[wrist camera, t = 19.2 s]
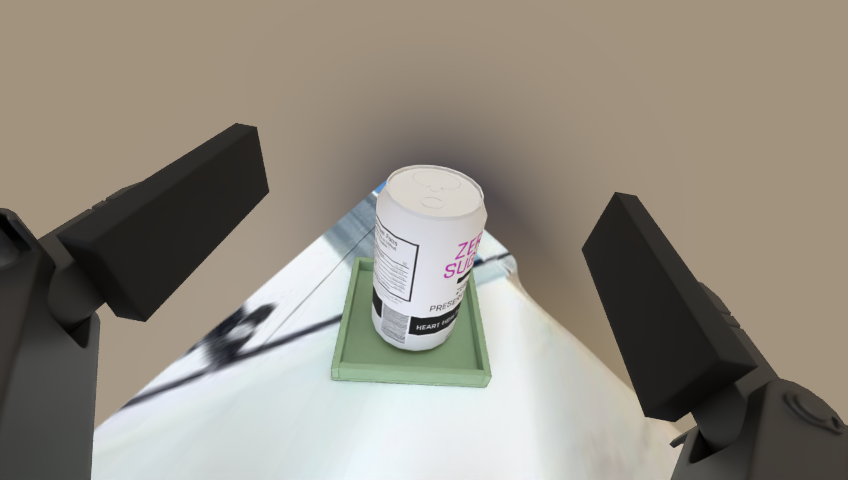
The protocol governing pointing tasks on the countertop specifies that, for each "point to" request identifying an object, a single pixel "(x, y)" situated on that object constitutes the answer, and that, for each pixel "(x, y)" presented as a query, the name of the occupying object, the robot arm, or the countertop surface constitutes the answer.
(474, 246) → the supplement can
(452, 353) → the can tray
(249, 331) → the countertop surface
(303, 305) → the countertop surface
